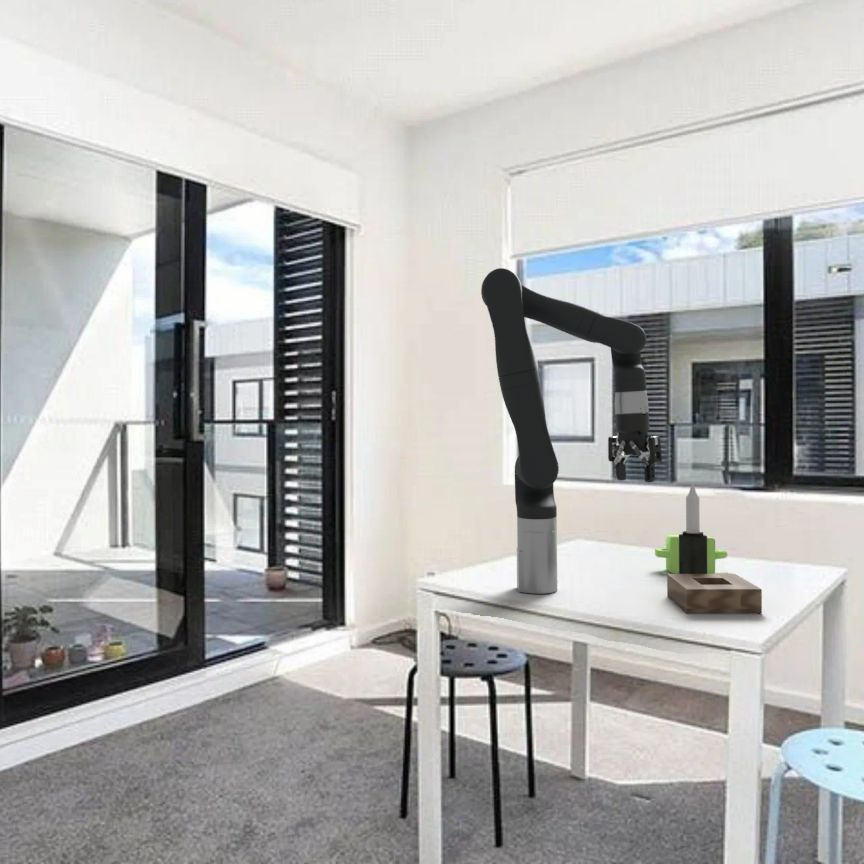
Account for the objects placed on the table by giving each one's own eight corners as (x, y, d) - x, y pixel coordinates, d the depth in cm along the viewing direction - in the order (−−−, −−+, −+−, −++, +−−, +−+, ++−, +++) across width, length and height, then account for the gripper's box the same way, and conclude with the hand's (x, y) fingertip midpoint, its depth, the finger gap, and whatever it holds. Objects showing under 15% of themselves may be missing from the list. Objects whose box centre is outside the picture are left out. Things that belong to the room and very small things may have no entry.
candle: (676, 588, 174) (676, 482, 173) (694, 586, 176) (693, 481, 175) (691, 593, 169) (691, 483, 169) (709, 591, 171) (709, 483, 170)
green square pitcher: (722, 570, 197) (722, 534, 197) (733, 576, 187) (733, 538, 187) (652, 568, 199) (653, 532, 199) (660, 574, 189) (660, 536, 189)
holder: (686, 613, 152) (686, 589, 152) (667, 596, 167) (667, 573, 167) (761, 613, 151) (761, 589, 151) (735, 596, 166) (735, 573, 166)
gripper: (597, 413, 176) (601, 481, 176) (643, 411, 164) (647, 484, 164) (620, 411, 180) (624, 477, 180) (667, 409, 168) (670, 481, 168)
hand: (635, 481), depth 172 cm, fingers open, 8 cm apart
